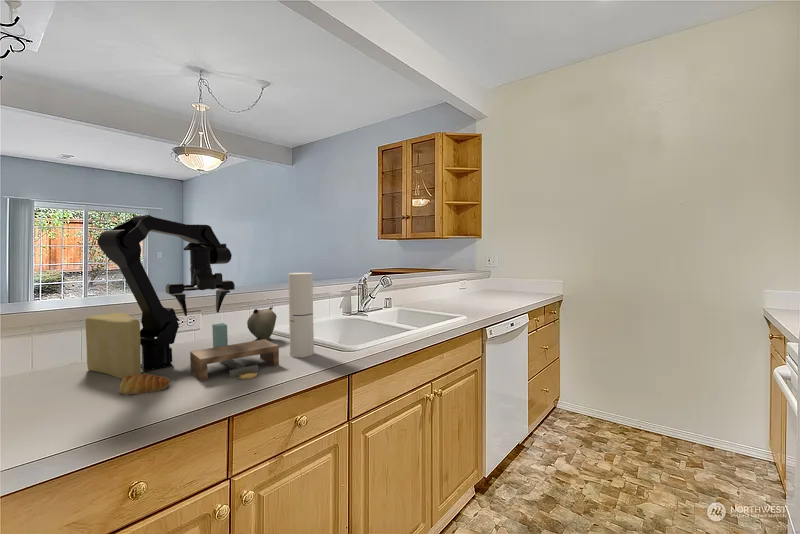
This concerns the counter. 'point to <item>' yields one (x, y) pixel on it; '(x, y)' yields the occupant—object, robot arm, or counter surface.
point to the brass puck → (247, 374)
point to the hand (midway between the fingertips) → (202, 314)
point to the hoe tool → (222, 340)
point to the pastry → (142, 384)
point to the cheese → (113, 344)
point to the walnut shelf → (232, 355)
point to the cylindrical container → (301, 314)
